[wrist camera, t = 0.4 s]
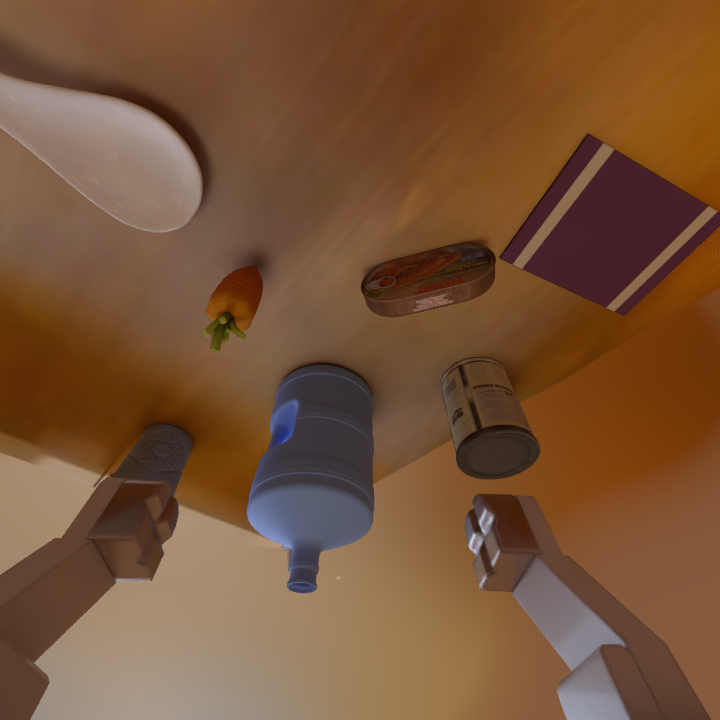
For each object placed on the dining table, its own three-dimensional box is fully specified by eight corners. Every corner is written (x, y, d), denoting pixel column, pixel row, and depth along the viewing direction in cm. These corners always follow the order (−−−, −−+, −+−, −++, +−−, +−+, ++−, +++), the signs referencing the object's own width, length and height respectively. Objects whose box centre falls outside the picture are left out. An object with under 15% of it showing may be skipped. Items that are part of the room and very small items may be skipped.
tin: (484, 236, 43) (505, 268, 36) (486, 261, 44) (506, 295, 38) (360, 267, 45) (359, 303, 39) (367, 289, 47) (366, 326, 41)
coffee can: (501, 403, 60) (530, 479, 49) (438, 405, 61) (453, 481, 50) (513, 354, 54) (550, 430, 43) (442, 357, 54) (461, 433, 43)
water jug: (373, 361, 55) (376, 557, 33) (372, 429, 65) (374, 613, 44) (270, 361, 55) (208, 555, 34) (285, 428, 65) (244, 611, 44)
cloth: (587, 133, 36) (589, 134, 35) (725, 216, 41) (729, 218, 40) (499, 257, 44) (500, 259, 44) (622, 314, 49) (624, 316, 49)
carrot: (252, 241, 43) (210, 308, 32) (282, 272, 46) (253, 344, 34) (225, 265, 45) (177, 336, 34) (255, 293, 48) (219, 368, 36)
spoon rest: (230, 153, 38) (206, 170, 32) (188, 241, 44) (162, 268, 38) (-50, -57, 29) (-150, -85, 23) (-54, 90, 35) (-135, 97, 29)
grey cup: (160, 457, 72) (129, 516, 62) (128, 424, 65) (88, 484, 56) (207, 450, 70) (182, 510, 61) (178, 416, 64) (146, 476, 55)
